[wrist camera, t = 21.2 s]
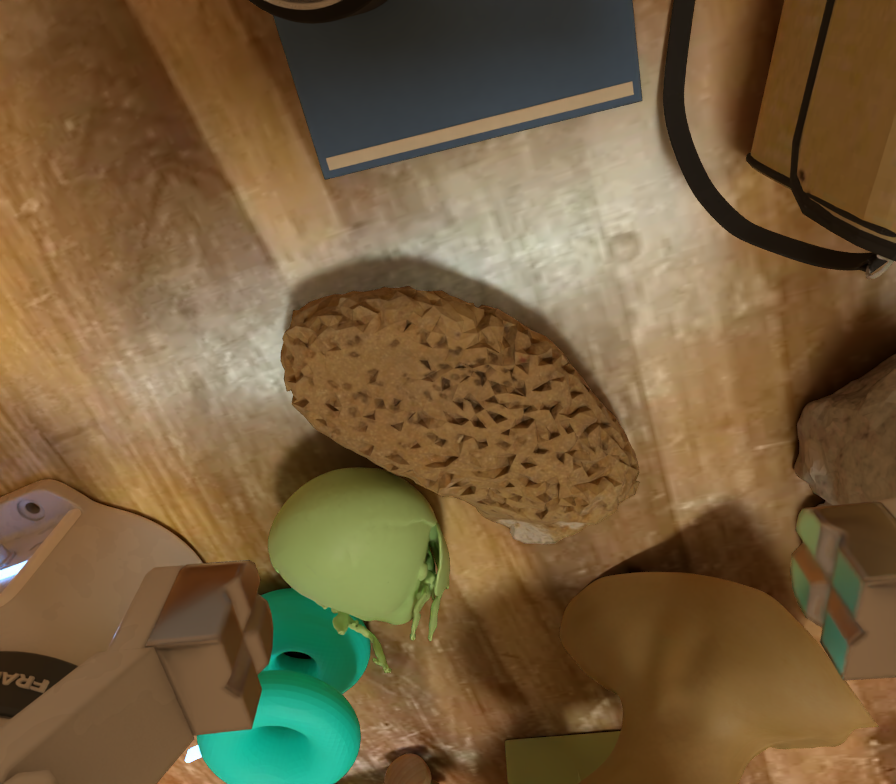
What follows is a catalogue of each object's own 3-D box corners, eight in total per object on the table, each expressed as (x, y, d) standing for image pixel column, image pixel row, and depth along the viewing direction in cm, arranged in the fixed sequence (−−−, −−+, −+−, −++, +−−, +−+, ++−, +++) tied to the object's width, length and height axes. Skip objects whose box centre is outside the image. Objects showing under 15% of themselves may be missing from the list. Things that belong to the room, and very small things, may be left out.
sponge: (641, 409, 45) (438, 181, 34) (668, 513, 39) (435, 281, 28) (474, 490, 51) (254, 318, 40) (477, 590, 45) (222, 422, 34)
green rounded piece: (220, 652, 36) (437, 694, 36) (276, 437, 39) (475, 475, 39) (267, 641, 47) (431, 673, 47) (307, 475, 50) (461, 505, 50)
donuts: (377, 722, 42) (335, 820, 46) (388, 597, 51) (352, 689, 55) (204, 687, 40) (179, 791, 45) (247, 564, 49) (222, 662, 54)
